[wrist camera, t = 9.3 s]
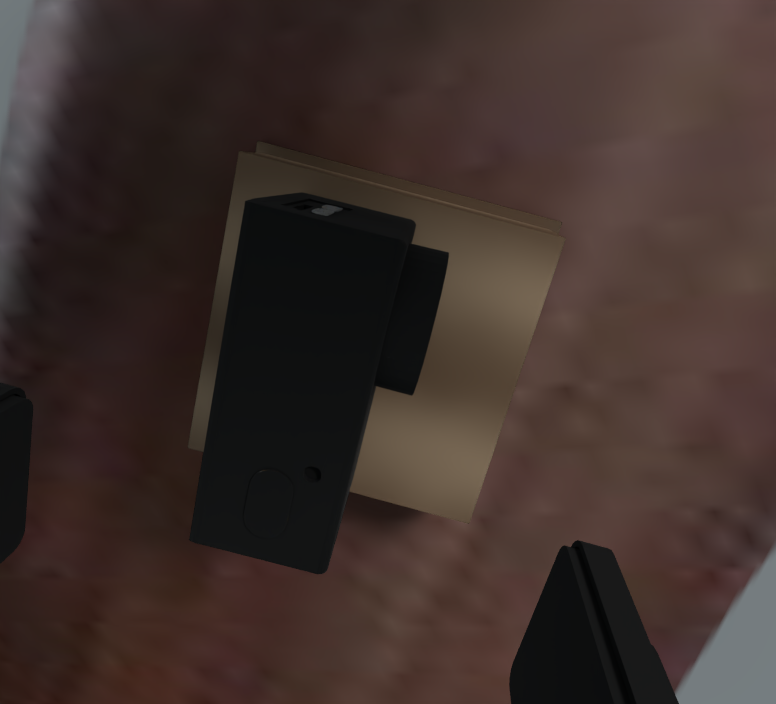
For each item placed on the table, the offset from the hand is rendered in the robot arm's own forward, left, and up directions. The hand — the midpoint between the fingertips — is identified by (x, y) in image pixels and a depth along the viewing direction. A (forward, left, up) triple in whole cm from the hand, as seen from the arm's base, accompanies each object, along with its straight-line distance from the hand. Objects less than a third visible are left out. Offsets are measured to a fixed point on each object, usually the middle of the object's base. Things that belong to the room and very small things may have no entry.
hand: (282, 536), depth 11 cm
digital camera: (+1, -1, -14) cm, 14 cm away
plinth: (+1, 0, -18) cm, 17 cm away
